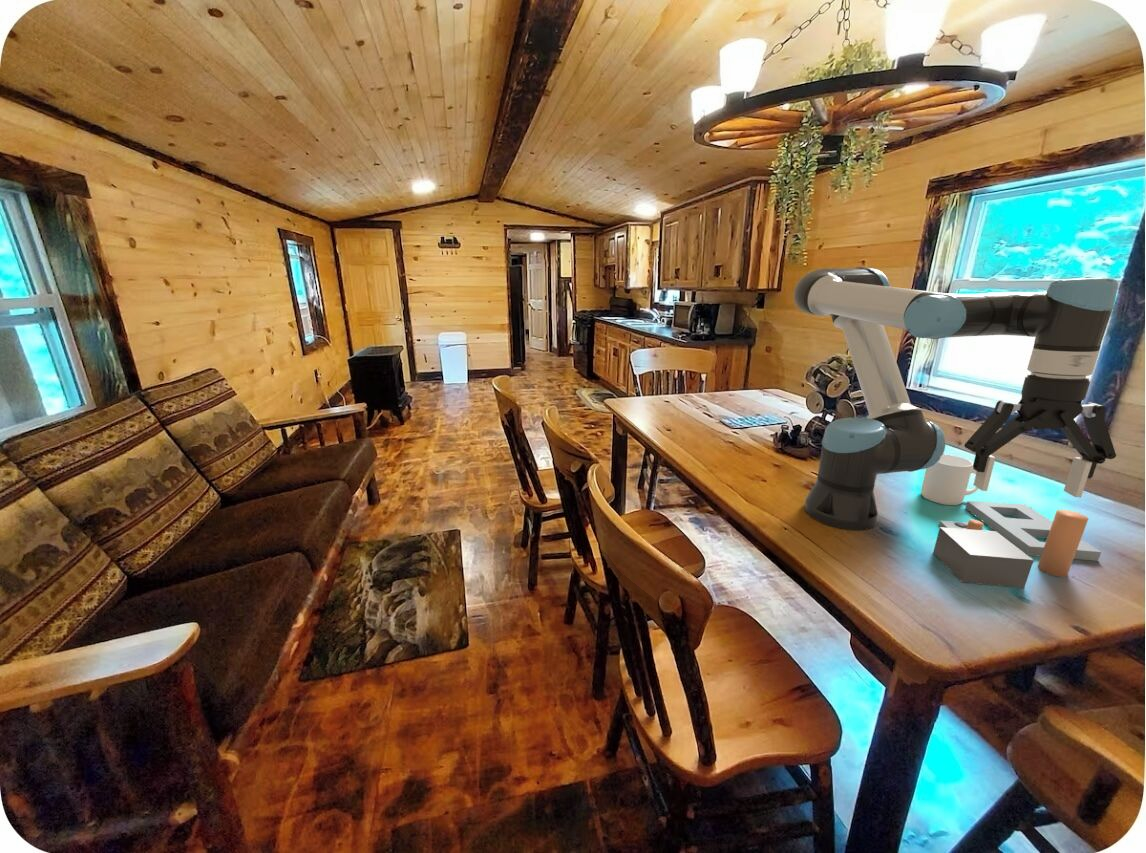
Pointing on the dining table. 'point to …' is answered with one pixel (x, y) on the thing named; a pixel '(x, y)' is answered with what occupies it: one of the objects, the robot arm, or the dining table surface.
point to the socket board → (1023, 527)
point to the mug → (948, 480)
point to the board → (962, 524)
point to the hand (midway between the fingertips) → (1025, 491)
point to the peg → (1062, 542)
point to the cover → (982, 557)
